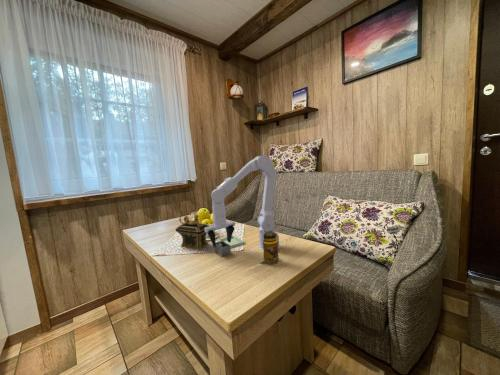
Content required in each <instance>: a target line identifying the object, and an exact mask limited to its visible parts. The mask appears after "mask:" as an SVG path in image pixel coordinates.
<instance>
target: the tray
mask: <svg viewBox="0 0 500 375" xmlns="http://www.w3.org/2000/svg"><path fill="white" fill-rule="evenodd" d="M216 241H217V242H220V241H224V242H225V243H227V244H229V245H230V249H232V248H236V247H238V246H242V245H245V244H246V241H244V240H243V239H241V238H239V237H238V236H235V235H234V234H232V237H231V242H228V241H227V236H225V237H221V238H218V239H216ZM217 242H216V243H217Z"/></svg>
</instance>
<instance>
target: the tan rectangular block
mask: <svg viewBox="0 0 500 375" xmlns="http://www.w3.org/2000/svg"><path fill="white" fill-rule="evenodd" d="M218 245H219V246H220V247H222V244H221V243H220V244H218ZM213 253H214V254H216V255H217V256H219V257H220V259H221V258H224V257H228V256H231V255H233V252H231V254H229V255H226V256H223V257H222V256H221V255H219V254H218V253H217V252H216V251H215V250H213Z"/></svg>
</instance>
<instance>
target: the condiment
mask: <svg viewBox="0 0 500 375" xmlns="http://www.w3.org/2000/svg"><path fill="white" fill-rule="evenodd" d="M263 236H264V240H263V249H262V250H263V261H261V262H260V263H259V265H266V266H268V267H269V266H270V267H277V266H278V265H279V264H280V263H281V261H282V260H283V258H280V257H279V249H278V241H277V238H276V234H275V233H273V232H268V233H265V234H264V235H263Z"/></svg>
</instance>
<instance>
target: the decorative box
mask: <svg viewBox="0 0 500 375" xmlns="http://www.w3.org/2000/svg"><path fill="white" fill-rule="evenodd" d="M198 211H199V208H196V211H195V212H194V213H193V215H194V216H193V217H194V219H193V220H190V219H189V218H190V217H189V216H188V215H184V216H183V220H184V222H183V221H182V219H181V217H182V214H181V212H180V211H179V210H177V212H178V213H177V214H176V215H177V216H178V217H179V218H178V220H179V223H180V225H179V226H177V227H175V232H177V233H178V234H179V235H180V236H181V239H182V242H181V245H180V248H181V247H182V248H187V249H191V250H196V251H199V250H202V249H203V248H205V247H207V246H209V245H210V244H209V242H208V240H207V239H206V237H207V235H208V234H207V233H206V232H205V227H209V226H210V225H208V224H206V223H202V222H199V220H200V219H199V214H197V212H198Z"/></svg>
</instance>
